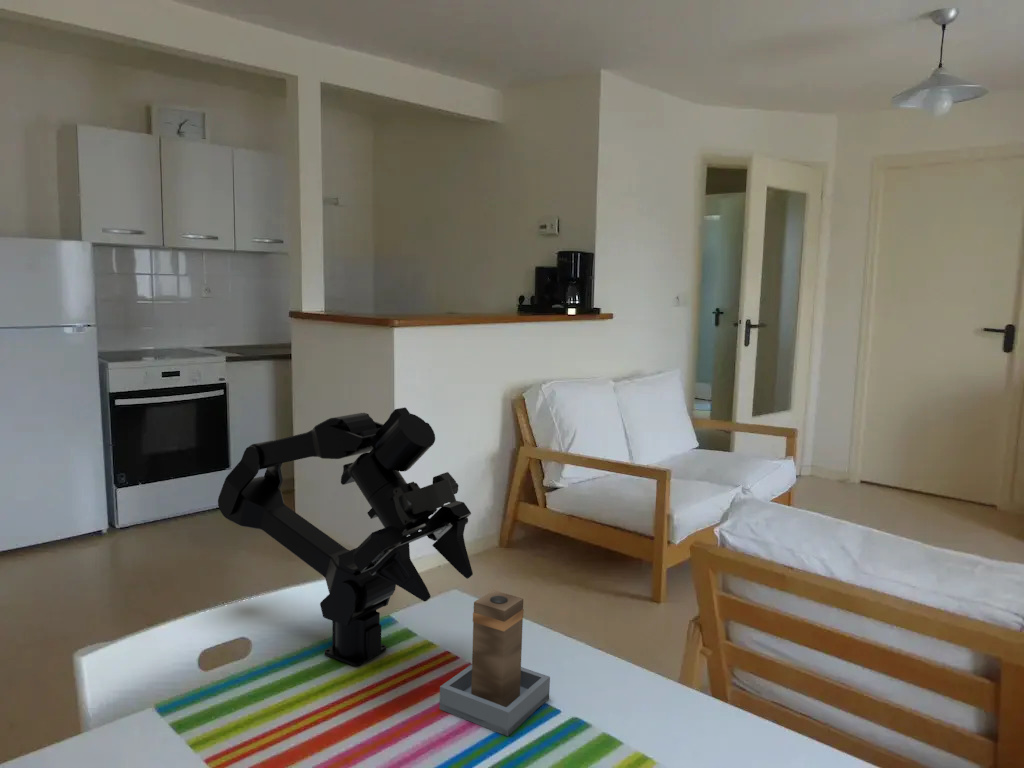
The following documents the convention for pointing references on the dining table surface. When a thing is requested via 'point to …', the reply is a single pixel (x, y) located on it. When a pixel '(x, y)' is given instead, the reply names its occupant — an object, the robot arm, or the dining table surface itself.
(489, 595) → the block
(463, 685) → the tray
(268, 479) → the robot arm
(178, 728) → the dining table surface
